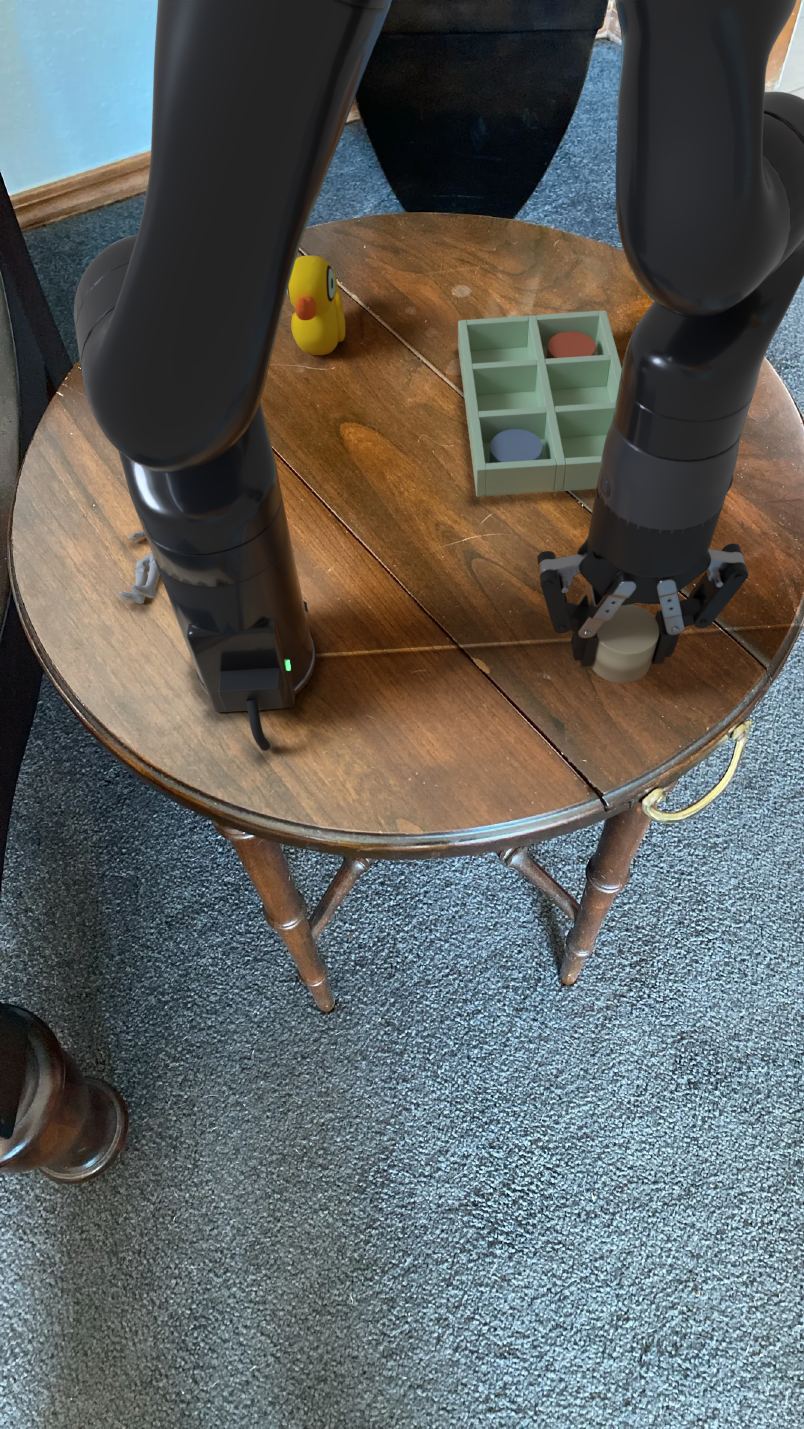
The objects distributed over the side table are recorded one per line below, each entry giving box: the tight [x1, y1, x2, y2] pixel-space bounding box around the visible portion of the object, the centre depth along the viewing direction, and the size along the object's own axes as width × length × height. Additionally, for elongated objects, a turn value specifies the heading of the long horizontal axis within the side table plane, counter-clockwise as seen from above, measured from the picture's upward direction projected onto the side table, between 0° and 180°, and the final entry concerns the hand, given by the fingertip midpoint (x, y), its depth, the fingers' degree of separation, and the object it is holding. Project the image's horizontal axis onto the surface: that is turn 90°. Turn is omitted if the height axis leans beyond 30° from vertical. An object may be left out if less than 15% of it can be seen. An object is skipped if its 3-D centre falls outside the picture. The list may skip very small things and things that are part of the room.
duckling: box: [286, 254, 346, 356], centre depth 95 cm, size 11×5×10 cm, turn 174°
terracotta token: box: [546, 331, 596, 359], centre depth 94 cm, size 5×5×2 cm
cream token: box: [590, 604, 659, 684], centre depth 70 cm, size 5×5×4 cm
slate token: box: [489, 429, 542, 463], centre depth 86 cm, size 5×5×2 cm
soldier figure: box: [118, 530, 161, 605], centre depth 82 cm, size 8×5×12 cm
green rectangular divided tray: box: [457, 309, 622, 497], centre depth 90 cm, size 14×21×4 cm
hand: (619, 655), depth 72 cm, fingers closed on cream token, 4 cm apart
